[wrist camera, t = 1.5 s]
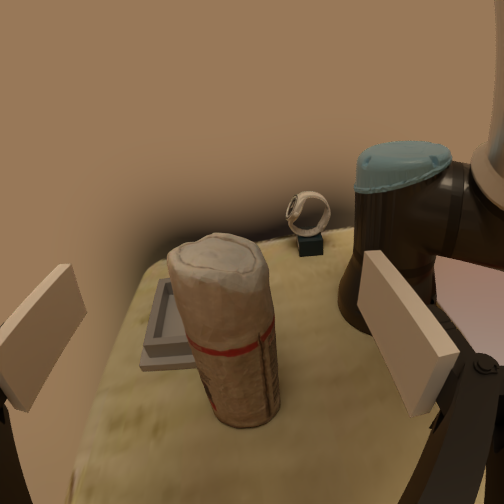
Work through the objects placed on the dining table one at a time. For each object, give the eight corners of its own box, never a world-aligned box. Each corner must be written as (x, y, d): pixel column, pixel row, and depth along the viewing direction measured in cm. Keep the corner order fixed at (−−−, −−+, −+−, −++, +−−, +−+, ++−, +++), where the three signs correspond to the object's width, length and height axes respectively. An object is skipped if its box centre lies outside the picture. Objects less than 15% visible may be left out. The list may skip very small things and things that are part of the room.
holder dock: (257, 279, 53) (255, 261, 51) (270, 359, 38) (267, 339, 36) (159, 293, 53) (153, 275, 51) (142, 371, 38) (132, 353, 36)
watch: (286, 242, 62) (282, 189, 56) (327, 239, 61) (326, 186, 55) (288, 258, 57) (284, 201, 51) (332, 254, 56) (332, 198, 51)
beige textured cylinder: (220, 367, 38) (180, 224, 27) (285, 372, 36) (273, 222, 26) (202, 424, 31) (136, 283, 20) (276, 433, 29) (255, 288, 19)
